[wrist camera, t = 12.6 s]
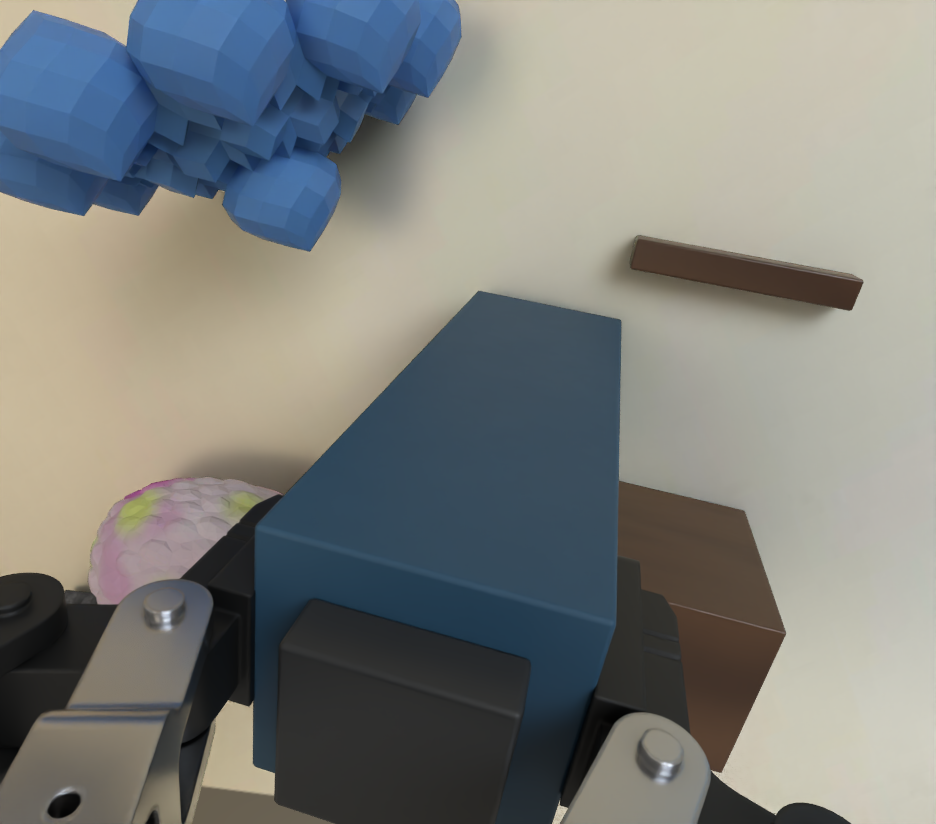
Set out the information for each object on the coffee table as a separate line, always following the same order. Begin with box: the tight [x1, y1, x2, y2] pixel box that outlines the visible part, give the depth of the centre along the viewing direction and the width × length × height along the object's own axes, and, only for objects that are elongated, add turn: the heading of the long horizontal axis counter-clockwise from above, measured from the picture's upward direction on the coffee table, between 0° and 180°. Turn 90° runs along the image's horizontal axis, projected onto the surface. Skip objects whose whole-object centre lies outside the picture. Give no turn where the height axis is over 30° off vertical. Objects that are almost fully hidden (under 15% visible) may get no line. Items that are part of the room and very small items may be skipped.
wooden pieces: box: [617, 235, 863, 773], centre depth 21 cm, size 15×7×7 cm, turn 171°
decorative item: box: [88, 477, 283, 605], centre depth 27 cm, size 9×11×10 cm
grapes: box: [0, 0, 461, 251], centre depth 17 cm, size 12×7×12 cm, turn 111°
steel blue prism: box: [253, 291, 621, 824], centre depth 16 cm, size 14×5×14 cm
